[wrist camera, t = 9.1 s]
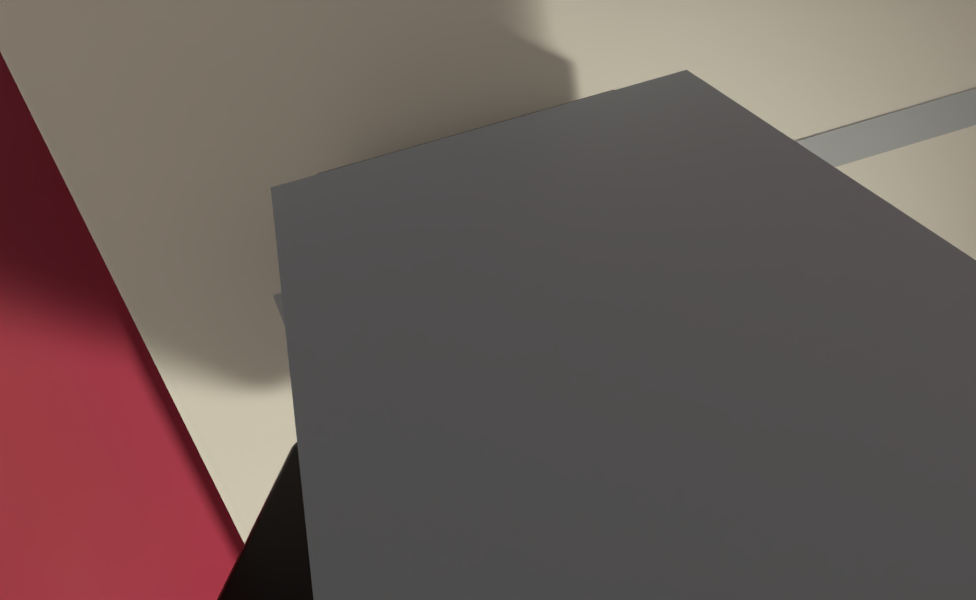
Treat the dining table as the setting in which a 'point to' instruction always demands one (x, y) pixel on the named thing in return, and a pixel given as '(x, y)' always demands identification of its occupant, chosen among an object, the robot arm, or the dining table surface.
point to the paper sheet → (422, 137)
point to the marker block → (626, 366)
